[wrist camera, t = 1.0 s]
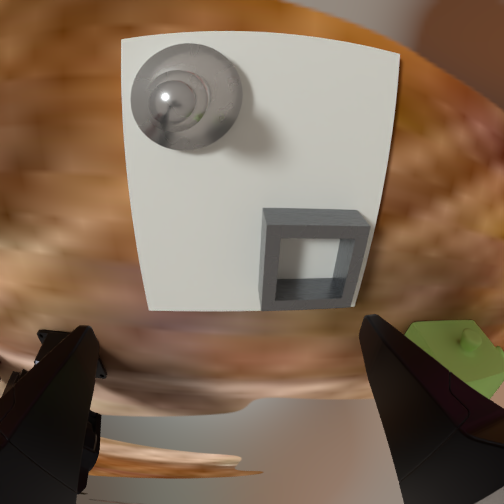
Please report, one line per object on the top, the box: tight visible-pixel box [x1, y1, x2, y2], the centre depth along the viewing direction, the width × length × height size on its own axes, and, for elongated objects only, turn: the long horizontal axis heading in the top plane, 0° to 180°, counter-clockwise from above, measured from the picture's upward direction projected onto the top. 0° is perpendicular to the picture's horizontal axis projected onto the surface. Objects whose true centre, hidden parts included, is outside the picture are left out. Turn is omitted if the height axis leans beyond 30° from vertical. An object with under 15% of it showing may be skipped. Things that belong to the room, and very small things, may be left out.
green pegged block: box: [405, 320, 504, 399], centre depth 27 cm, size 18×10×10 cm, turn 80°
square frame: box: [258, 208, 371, 311], centre depth 21 cm, size 7×7×2 cm
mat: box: [121, 31, 400, 311], centre depth 20 cm, size 20×17×1 cm
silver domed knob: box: [130, 43, 243, 151], centre depth 14 cm, size 6×6×5 cm
